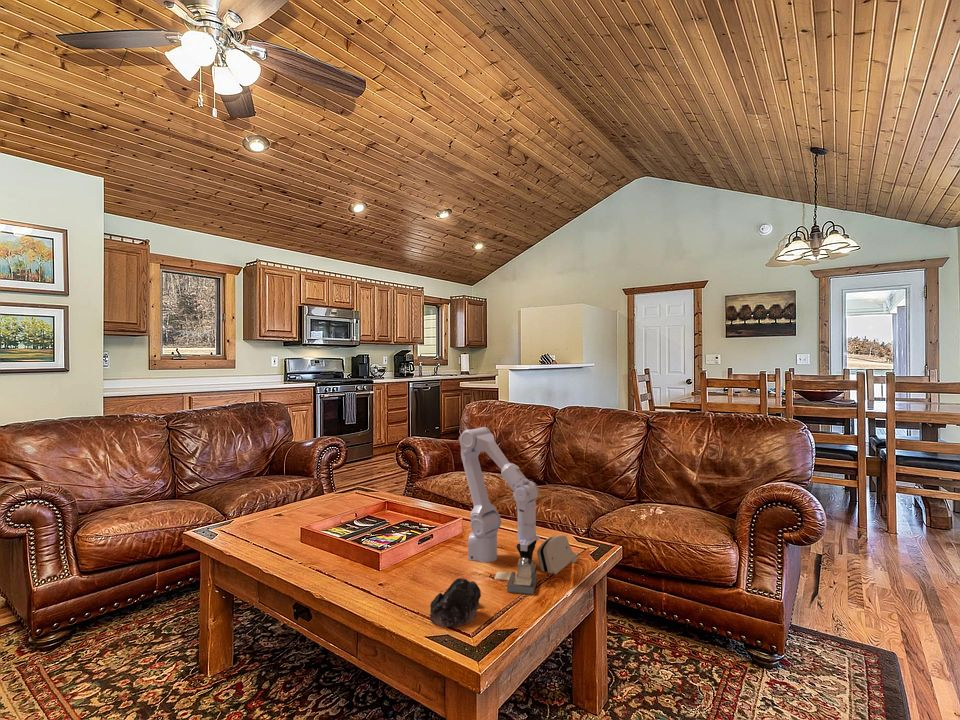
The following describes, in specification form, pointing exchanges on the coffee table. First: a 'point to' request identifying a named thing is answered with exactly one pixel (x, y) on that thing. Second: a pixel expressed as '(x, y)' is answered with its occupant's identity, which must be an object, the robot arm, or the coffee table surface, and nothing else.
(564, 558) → the grey rounded housing
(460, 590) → the black rock
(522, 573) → the block
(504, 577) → the pad
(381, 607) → the coffee table surface
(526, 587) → the flange rail
